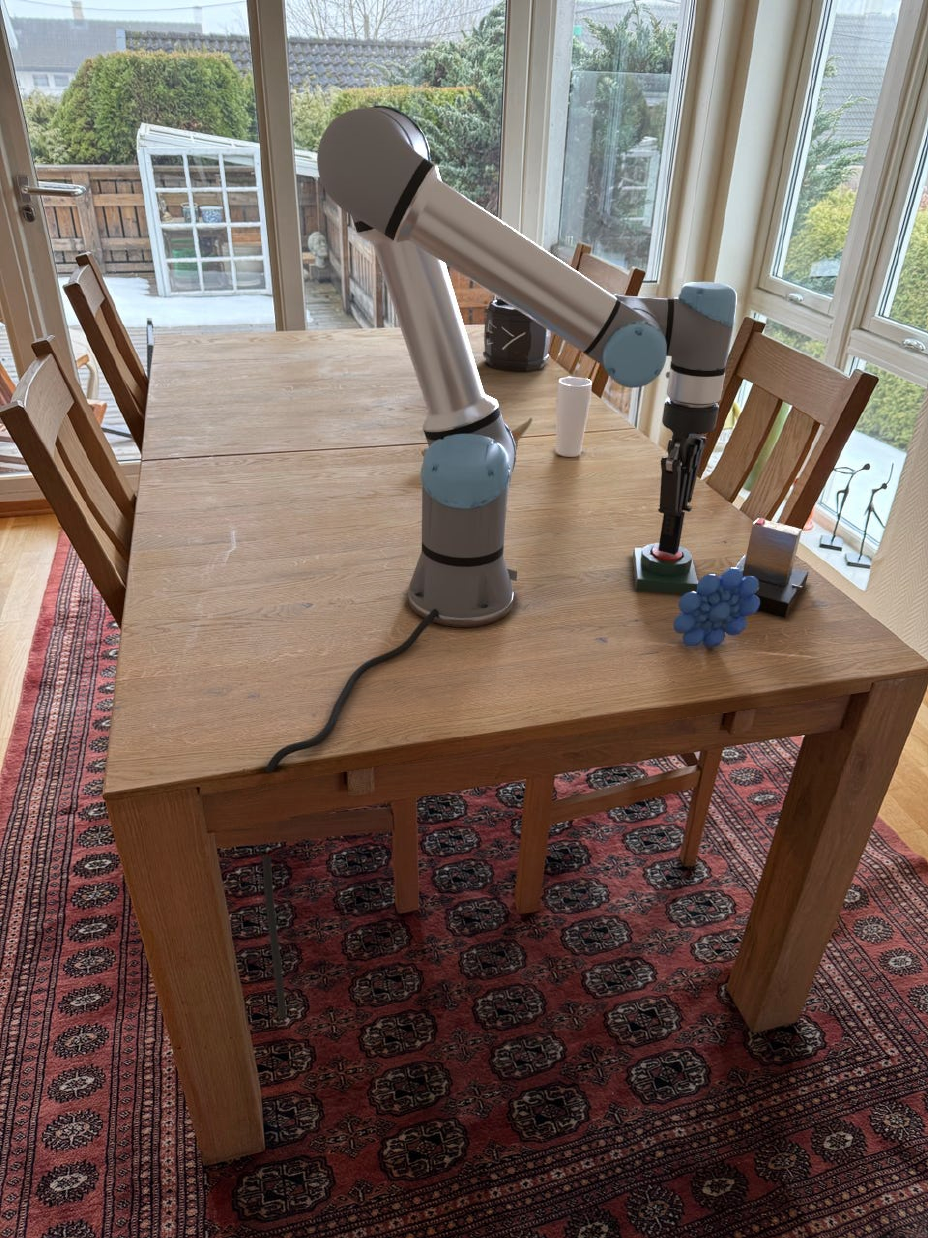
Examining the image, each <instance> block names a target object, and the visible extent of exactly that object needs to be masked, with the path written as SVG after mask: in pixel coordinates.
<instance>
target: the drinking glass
mask: <svg viewBox="0 0 928 1238" xmlns="http://www.w3.org/2000/svg"><path fill="white" fill-rule="evenodd" d="M592 385H593V384H592V381H591V380H590V379H588V378H585V377H580V376H565V377H561V378H559V379H558V383H557V388H556V399H555V412H556V413H555V448H554V451H555V453H556V454H557V455H559V456H561V457H566V458H575V457H578V456H580V455H581V453H582V449H583V441H584V436H585V430H586V426H587V421H588V416H589V410H590V405H591V398H592V397H591V396H592V387H593V386H592Z"/></svg>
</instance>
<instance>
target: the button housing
mask: <svg viewBox="0 0 928 1238" xmlns="http://www.w3.org/2000/svg"><path fill="white" fill-rule="evenodd" d="M657 546H659V542H654V543H649V544H647V545H645V546H644V547H633V553H632V565H633V577H634V585H635V591H638V592H651V593H662V594H674V595H684V594H686V593H689V592H692V591H693V592H697V584H698V582H699V581H698V578H697V574H696V569H695V565H694V561H693V560H694V559H693V557H692V552H691V551H689V550H688V549H686V548H685V547H683V546H681V545H679V550H680V551H681V552H682V559H681V560H678V561H663V560H660V559H657V558H655V557H653V556H652V555H651V554H652V549H653V548H654V547H657Z"/></svg>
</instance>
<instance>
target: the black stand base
mask: <svg viewBox="0 0 928 1238" xmlns="http://www.w3.org/2000/svg"><path fill="white" fill-rule="evenodd" d="M745 559H746V554H744V556H742V558H741V559H740V560H739V562H738V563H737V564H736V565H735V567H730V569H731V568H738V569H740V570H741V571H742V573H743V568H744V564H745ZM744 577H747V576H744V575H743V578H744ZM808 577H809V571H806V570H802V569H799V568H795V567H793V568H792V572H791V576H790V580H789V582H788V583H787V584H786V586H785V587H783V586H780V585H776V584H773V583H769V582H766V581H762V580H758V579H757V580H758V583H759V586H758V589H757V592H756V593H755V594H754V595H756V596H757V597H758V598H759V600H760V605H759V608H758V610H757V611H759V612H761V613H766V614H769V615H773V616H777V617H779V618H783V619H785V618H786V617H787V616H788V614H789V613H790V611H791V609H792V607H794V605H795V603H796V601H797V600H798V598H799V597H800V595H801V593H802V592H803V590H804V588H805V587H806V585H807V581H808Z"/></svg>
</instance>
